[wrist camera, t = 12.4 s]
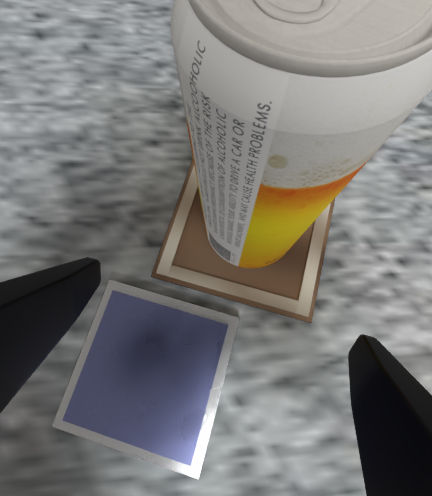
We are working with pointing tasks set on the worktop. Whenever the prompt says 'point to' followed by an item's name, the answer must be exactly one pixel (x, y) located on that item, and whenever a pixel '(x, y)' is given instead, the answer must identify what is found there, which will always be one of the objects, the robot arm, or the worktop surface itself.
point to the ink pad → (149, 377)
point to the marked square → (238, 278)
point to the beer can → (291, 106)
